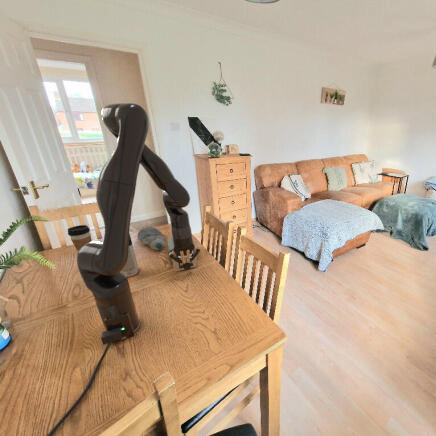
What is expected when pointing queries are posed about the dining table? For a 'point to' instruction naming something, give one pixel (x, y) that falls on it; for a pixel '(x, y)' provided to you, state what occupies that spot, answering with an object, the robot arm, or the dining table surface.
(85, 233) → the coffee cup
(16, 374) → the dining table surface
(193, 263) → the drawer
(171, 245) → the cabinet
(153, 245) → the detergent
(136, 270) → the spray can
